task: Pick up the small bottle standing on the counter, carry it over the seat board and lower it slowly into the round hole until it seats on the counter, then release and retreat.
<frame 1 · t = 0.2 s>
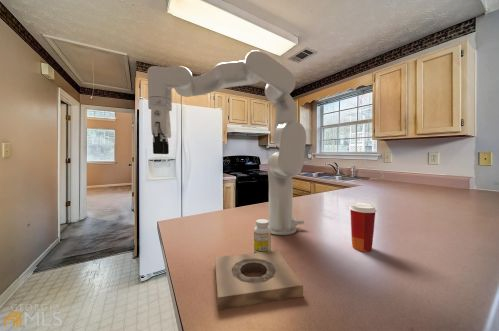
hand: (161, 154, 72), 31 cm above the worktop, fingers open, 9 cm apart
supplement bottle: (262, 251, 64), on the worktop
paper cup: (361, 248, 66), on the worktop
seat board: (253, 279, 49), on the worktop
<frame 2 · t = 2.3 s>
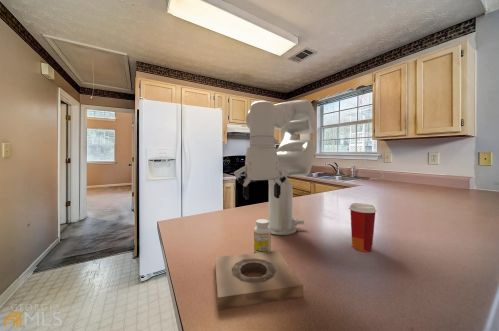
hand: (261, 198, 63), 17 cm above the worktop, fingers open, 9 cm apart
nothing on the worktop moved.
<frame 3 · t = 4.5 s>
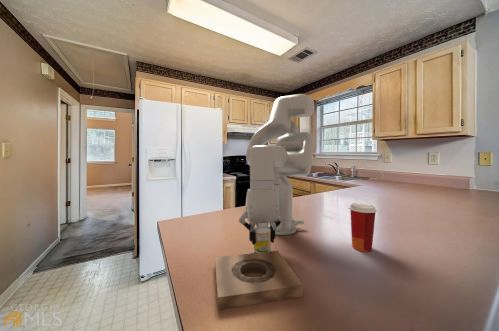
hand: (262, 241, 64), 3 cm above the worktop, fingers closed on supplement bottle, 5 cm apart
supplement bottle: (262, 251, 64), on the worktop, touching gripper
everything else where it was.
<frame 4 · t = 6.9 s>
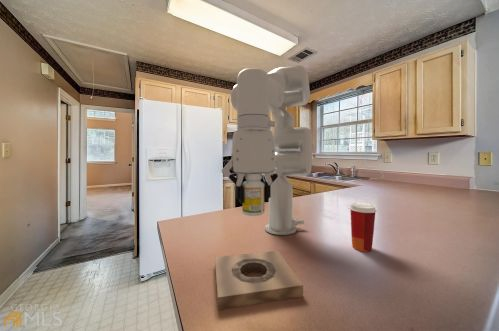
hand: (253, 200, 49), 19 cm above the worktop, fingers closed on supplement bottle, 5 cm apart
supplement bottle: (253, 213, 49), point 16 cm above the worktop, touching gripper
everything else where it was.
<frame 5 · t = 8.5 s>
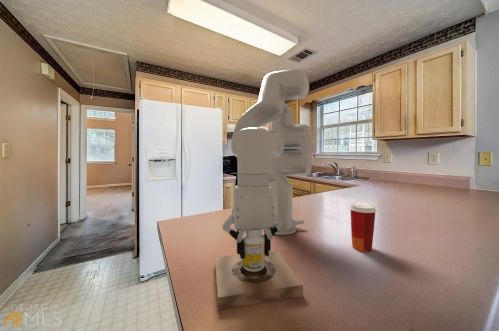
hand: (253, 254, 49), 6 cm above the worktop, fingers closed on supplement bottle, 5 cm apart
supplement bottle: (253, 266, 49), point 3 cm above the worktop, touching gripper
everything else where it was.
when the fingers open (4 cm above the worktop, at t = 9.7 s): supplement bottle stays where it is, resting in seat board.
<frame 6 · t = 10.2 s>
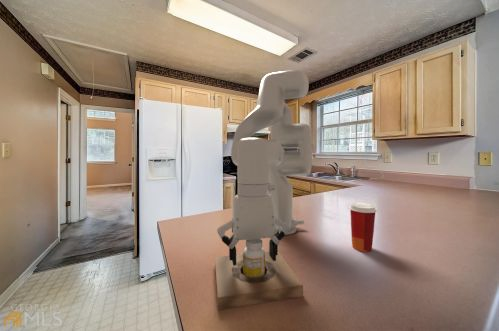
hand: (253, 260, 49), 5 cm above the worktop, fingers open, 9 cm apart
supplement bottle: (254, 280, 50), resting in seat board
everything else where it was.
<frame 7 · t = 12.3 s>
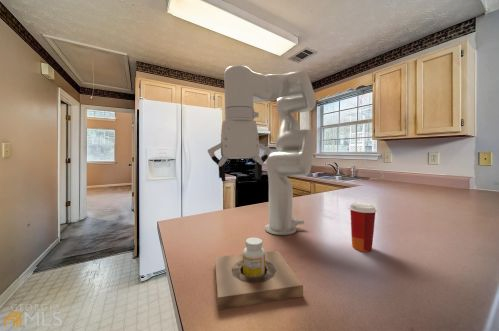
hand: (240, 179, 55), 24 cm above the worktop, fingers open, 9 cm apart
nothing on the worktop moved.
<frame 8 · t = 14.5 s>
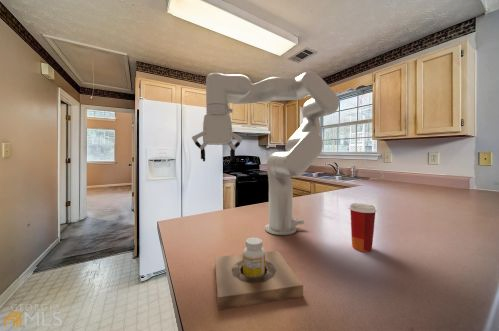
hand: (218, 161, 71), 28 cm above the worktop, fingers open, 9 cm apart
nothing on the worktop moved.
at the end: supplement bottle 0.1 cm off-centre on the seat board, point 0.0 cm above the seat board's base; supplement bottle tilted 0°; the gripper is holding nothing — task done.
